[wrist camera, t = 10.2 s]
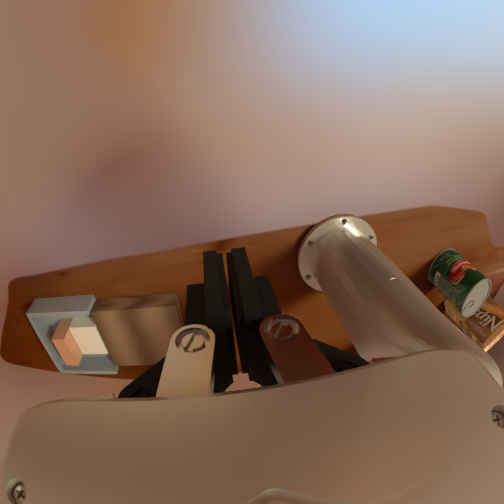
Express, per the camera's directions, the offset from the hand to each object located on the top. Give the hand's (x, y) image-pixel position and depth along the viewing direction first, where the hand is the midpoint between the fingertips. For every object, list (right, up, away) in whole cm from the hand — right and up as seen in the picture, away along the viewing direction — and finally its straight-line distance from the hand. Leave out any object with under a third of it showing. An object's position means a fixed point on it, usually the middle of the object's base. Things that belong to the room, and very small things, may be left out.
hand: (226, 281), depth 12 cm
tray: (-28, -12, +30) cm, 43 cm away
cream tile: (-25, -12, +30) cm, 41 cm away
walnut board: (-16, -11, +32) cm, 37 cm away
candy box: (+47, -8, +42) cm, 63 cm away
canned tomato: (+38, -1, +37) cm, 53 cm away
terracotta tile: (-27, -13, +28) cm, 41 cm away
